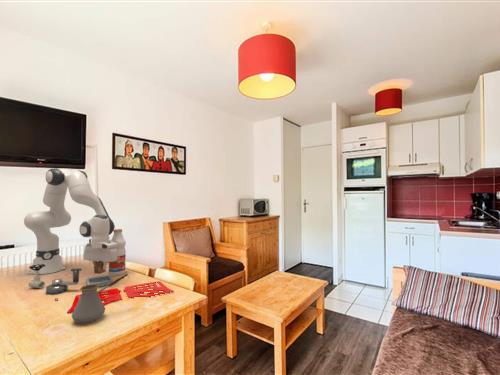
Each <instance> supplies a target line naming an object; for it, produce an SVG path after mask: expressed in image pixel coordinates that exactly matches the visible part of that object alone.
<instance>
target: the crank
mask: <svg viewBox="0 0 500 375" xmlns="http://www.w3.org/2000/svg"><path fill="white" fill-rule="evenodd" d="M81 271H82V267H81V268H71V269H70V272H72V280H63V278H55V279H53V280H51V284H52V286H59V285H68V286H76V285H77V284H79V281H80V272H81Z"/></svg>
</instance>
